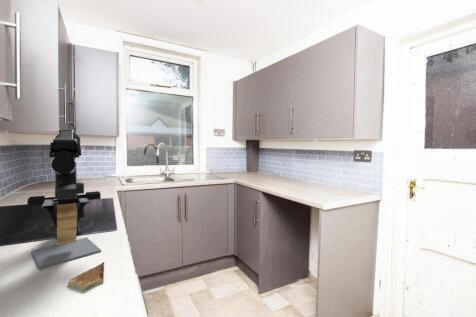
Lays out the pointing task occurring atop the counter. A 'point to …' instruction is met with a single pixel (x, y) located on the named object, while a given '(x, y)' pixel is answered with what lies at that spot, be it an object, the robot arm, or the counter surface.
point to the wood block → (66, 223)
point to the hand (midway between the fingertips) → (66, 225)
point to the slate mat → (64, 252)
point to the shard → (88, 278)
